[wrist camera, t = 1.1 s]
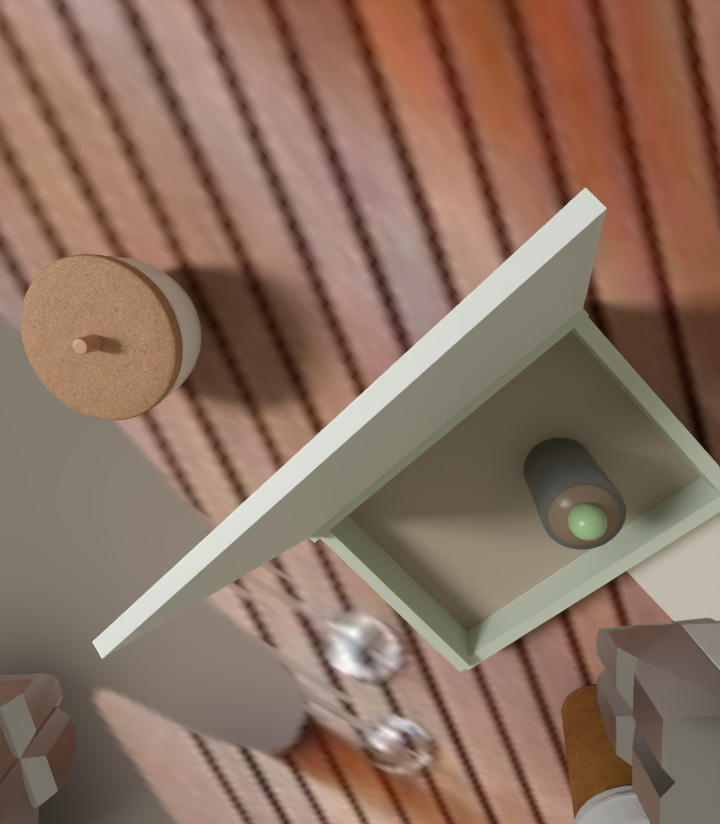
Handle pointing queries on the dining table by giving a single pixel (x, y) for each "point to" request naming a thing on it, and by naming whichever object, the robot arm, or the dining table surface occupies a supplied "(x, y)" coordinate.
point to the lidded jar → (109, 334)
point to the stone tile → (685, 574)
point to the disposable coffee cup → (596, 766)
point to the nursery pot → (573, 494)
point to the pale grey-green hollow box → (470, 466)
